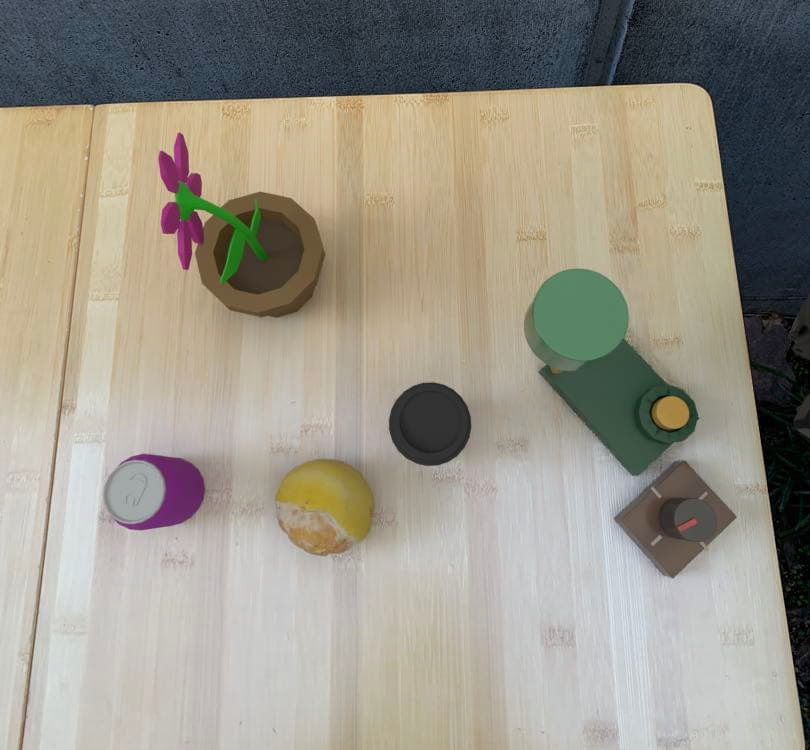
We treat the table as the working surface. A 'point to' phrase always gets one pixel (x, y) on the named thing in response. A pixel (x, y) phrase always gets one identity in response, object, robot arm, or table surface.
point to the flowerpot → (243, 242)
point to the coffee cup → (430, 424)
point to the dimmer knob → (688, 519)
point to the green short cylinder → (576, 319)
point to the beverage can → (153, 492)
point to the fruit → (325, 506)
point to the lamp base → (623, 405)
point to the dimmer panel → (645, 521)
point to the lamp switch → (670, 413)
